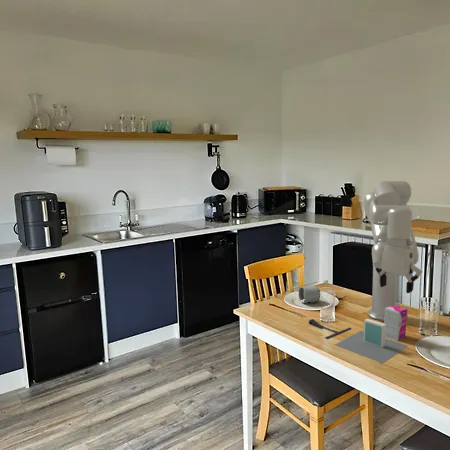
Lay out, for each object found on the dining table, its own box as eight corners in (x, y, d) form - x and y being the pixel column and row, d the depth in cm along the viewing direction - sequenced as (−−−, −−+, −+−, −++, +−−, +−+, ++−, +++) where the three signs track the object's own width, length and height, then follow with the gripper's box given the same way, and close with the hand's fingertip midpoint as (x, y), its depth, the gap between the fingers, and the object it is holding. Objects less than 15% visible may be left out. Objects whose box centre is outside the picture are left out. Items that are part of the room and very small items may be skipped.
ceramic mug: (321, 303, 184) (321, 287, 183) (304, 305, 182) (305, 289, 181) (310, 296, 195) (310, 281, 194) (295, 298, 193) (295, 283, 192)
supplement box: (397, 342, 144) (399, 312, 142) (382, 337, 148) (383, 307, 147) (406, 338, 147) (407, 308, 145) (391, 333, 152) (392, 304, 150)
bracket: (321, 320, 167) (321, 314, 166) (351, 332, 155) (352, 325, 154) (297, 329, 158) (297, 323, 158) (327, 342, 146) (327, 335, 146)
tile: (366, 339, 145) (367, 318, 144) (384, 346, 140) (385, 324, 139) (363, 341, 144) (364, 320, 143) (381, 347, 139) (382, 325, 137)
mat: (361, 331, 153) (361, 330, 153) (408, 347, 140) (408, 345, 140) (334, 346, 142) (334, 344, 142) (382, 365, 128) (382, 363, 128)
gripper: (427, 244, 138) (425, 292, 141) (380, 238, 151) (378, 282, 154) (418, 247, 133) (415, 297, 136) (370, 240, 146) (368, 286, 149)
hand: (395, 289), depth 145 cm, fingers open, 9 cm apart
